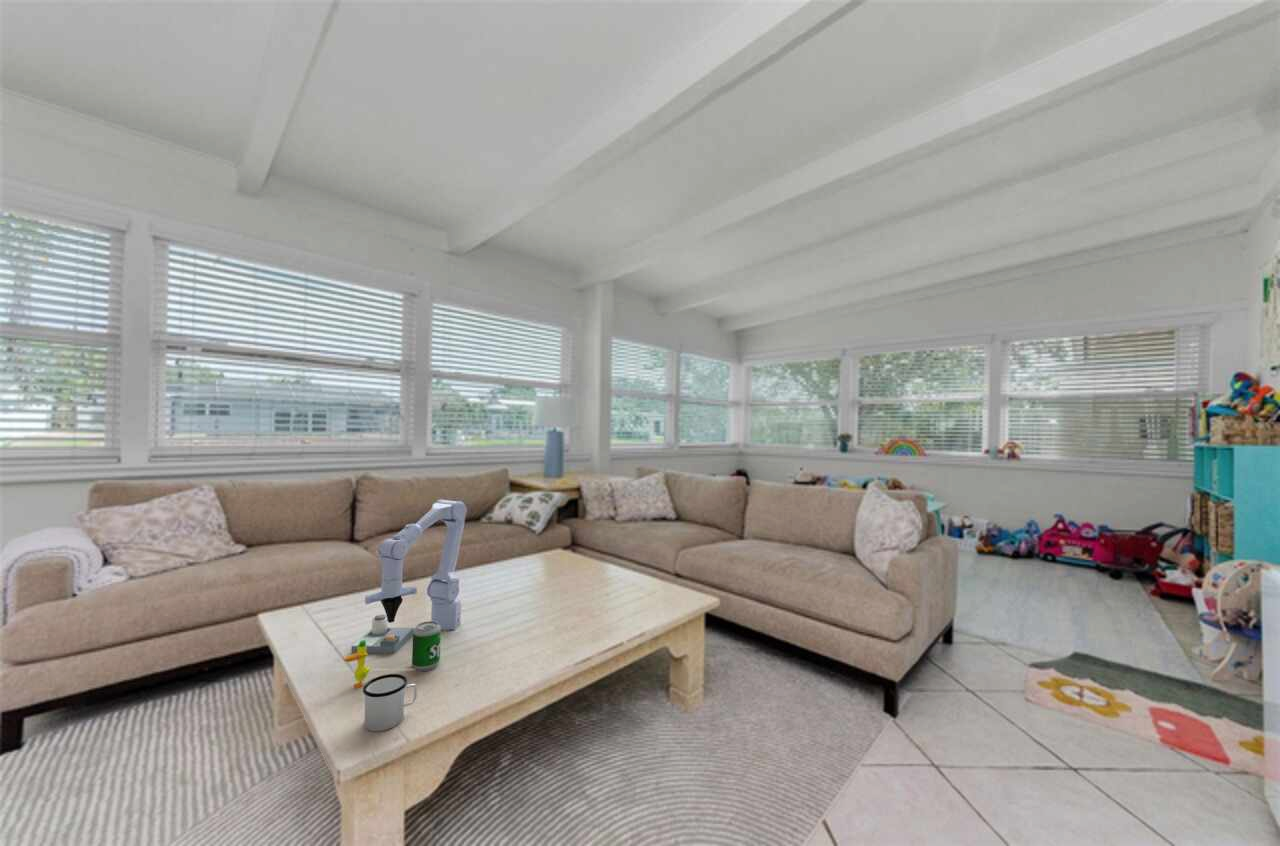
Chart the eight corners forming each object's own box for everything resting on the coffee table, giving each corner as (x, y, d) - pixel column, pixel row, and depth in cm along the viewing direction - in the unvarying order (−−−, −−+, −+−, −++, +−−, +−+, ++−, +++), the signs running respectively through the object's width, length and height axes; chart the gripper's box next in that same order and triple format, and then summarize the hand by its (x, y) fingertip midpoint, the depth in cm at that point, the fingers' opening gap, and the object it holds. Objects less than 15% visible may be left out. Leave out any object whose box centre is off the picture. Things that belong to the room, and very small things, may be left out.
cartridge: (389, 635, 161) (389, 614, 161) (383, 641, 157) (383, 619, 157) (375, 635, 161) (376, 614, 161) (369, 641, 157) (369, 619, 157)
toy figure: (344, 693, 127) (346, 647, 127) (341, 687, 129) (343, 643, 130) (373, 684, 131) (374, 640, 132) (369, 679, 134) (371, 636, 134)
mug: (368, 739, 109) (369, 699, 109) (356, 720, 116) (357, 682, 116) (422, 718, 117) (424, 680, 117) (408, 701, 124) (410, 666, 124)
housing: (413, 634, 163) (413, 622, 163) (395, 654, 149) (395, 641, 149) (373, 634, 162) (373, 622, 162) (351, 654, 148) (351, 641, 148)
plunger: (396, 641, 152) (396, 634, 152) (392, 644, 150) (392, 638, 150) (387, 641, 152) (387, 634, 152) (383, 644, 150) (383, 638, 150)
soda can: (422, 675, 137) (423, 632, 137) (406, 667, 141) (407, 626, 141) (445, 664, 144) (446, 624, 144) (429, 657, 148) (430, 618, 148)
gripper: (411, 570, 159) (410, 611, 159) (362, 579, 149) (361, 623, 149) (419, 575, 154) (418, 618, 154) (369, 585, 144) (367, 630, 144)
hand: (390, 621), depth 151 cm, fingers closed
